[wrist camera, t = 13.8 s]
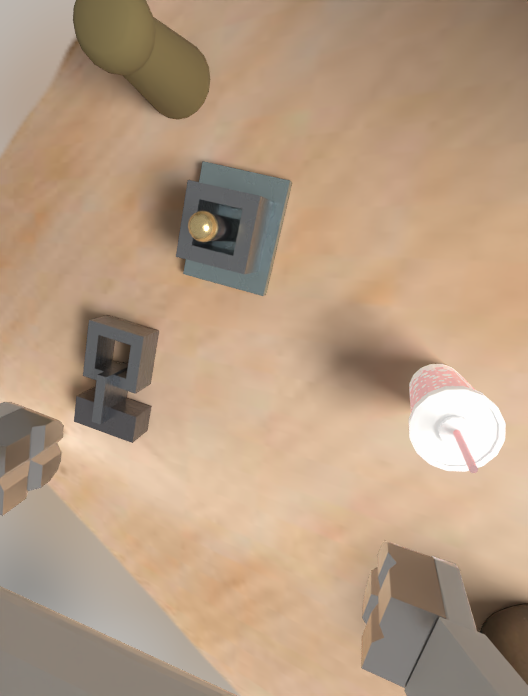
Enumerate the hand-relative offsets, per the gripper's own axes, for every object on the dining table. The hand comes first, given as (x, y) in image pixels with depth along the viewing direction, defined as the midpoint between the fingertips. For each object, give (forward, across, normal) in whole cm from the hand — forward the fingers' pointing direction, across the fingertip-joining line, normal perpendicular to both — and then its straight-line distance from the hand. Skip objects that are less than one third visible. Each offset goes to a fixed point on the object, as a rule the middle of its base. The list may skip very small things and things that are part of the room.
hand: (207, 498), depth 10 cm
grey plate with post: (+29, +10, -5) cm, 31 cm away
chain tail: (+29, +19, +12) cm, 37 cm away
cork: (+29, +18, -16) cm, 38 cm away
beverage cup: (+29, -11, +4) cm, 32 cm away
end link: (+28, +10, -5) cm, 30 cm away
